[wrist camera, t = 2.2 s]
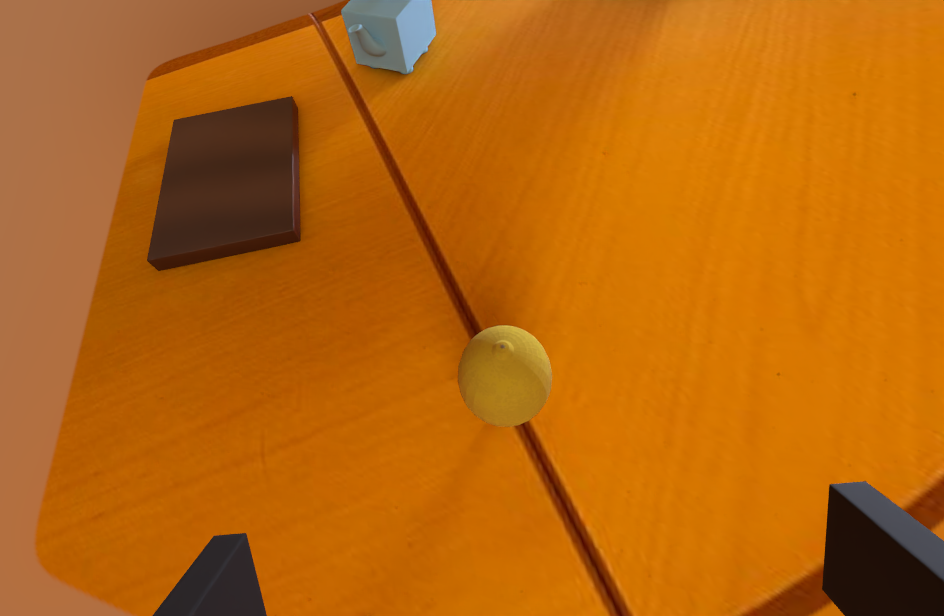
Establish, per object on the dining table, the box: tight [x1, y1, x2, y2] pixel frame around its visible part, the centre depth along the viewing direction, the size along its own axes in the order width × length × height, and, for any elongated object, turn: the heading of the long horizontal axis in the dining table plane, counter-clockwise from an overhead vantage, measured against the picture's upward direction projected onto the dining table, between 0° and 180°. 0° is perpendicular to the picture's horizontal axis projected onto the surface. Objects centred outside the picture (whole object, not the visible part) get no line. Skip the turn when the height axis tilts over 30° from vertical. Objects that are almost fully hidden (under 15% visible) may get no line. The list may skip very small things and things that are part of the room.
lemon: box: [458, 325, 552, 427], centre depth 29 cm, size 6×6×8 cm
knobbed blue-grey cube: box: [341, 0, 436, 74], centre depth 50 cm, size 12×6×8 cm, turn 157°
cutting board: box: [147, 96, 300, 271], centre depth 45 cm, size 18×12×2 cm, turn 11°
